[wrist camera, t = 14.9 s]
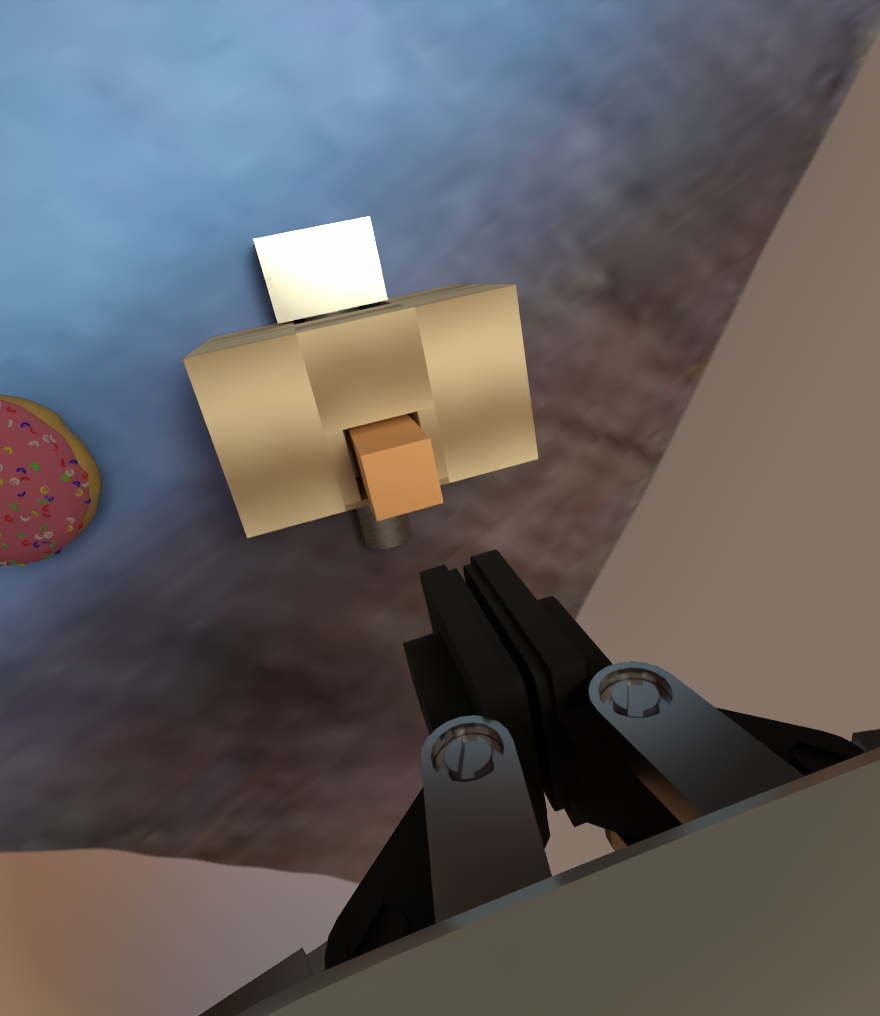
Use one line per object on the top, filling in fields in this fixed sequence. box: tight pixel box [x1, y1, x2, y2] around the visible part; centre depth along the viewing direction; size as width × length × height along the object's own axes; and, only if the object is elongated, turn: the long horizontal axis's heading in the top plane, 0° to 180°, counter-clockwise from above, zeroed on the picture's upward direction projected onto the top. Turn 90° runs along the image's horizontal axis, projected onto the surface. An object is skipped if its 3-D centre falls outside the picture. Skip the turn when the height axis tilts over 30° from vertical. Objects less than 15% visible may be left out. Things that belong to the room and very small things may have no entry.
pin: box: [253, 216, 412, 550], centre depth 34 cm, size 18×6×3 cm, turn 11°
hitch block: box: [183, 284, 538, 538], centre depth 30 cm, size 8×14×10 cm, turn 101°
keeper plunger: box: [347, 414, 443, 521], centre depth 26 cm, size 3×3×7 cm
